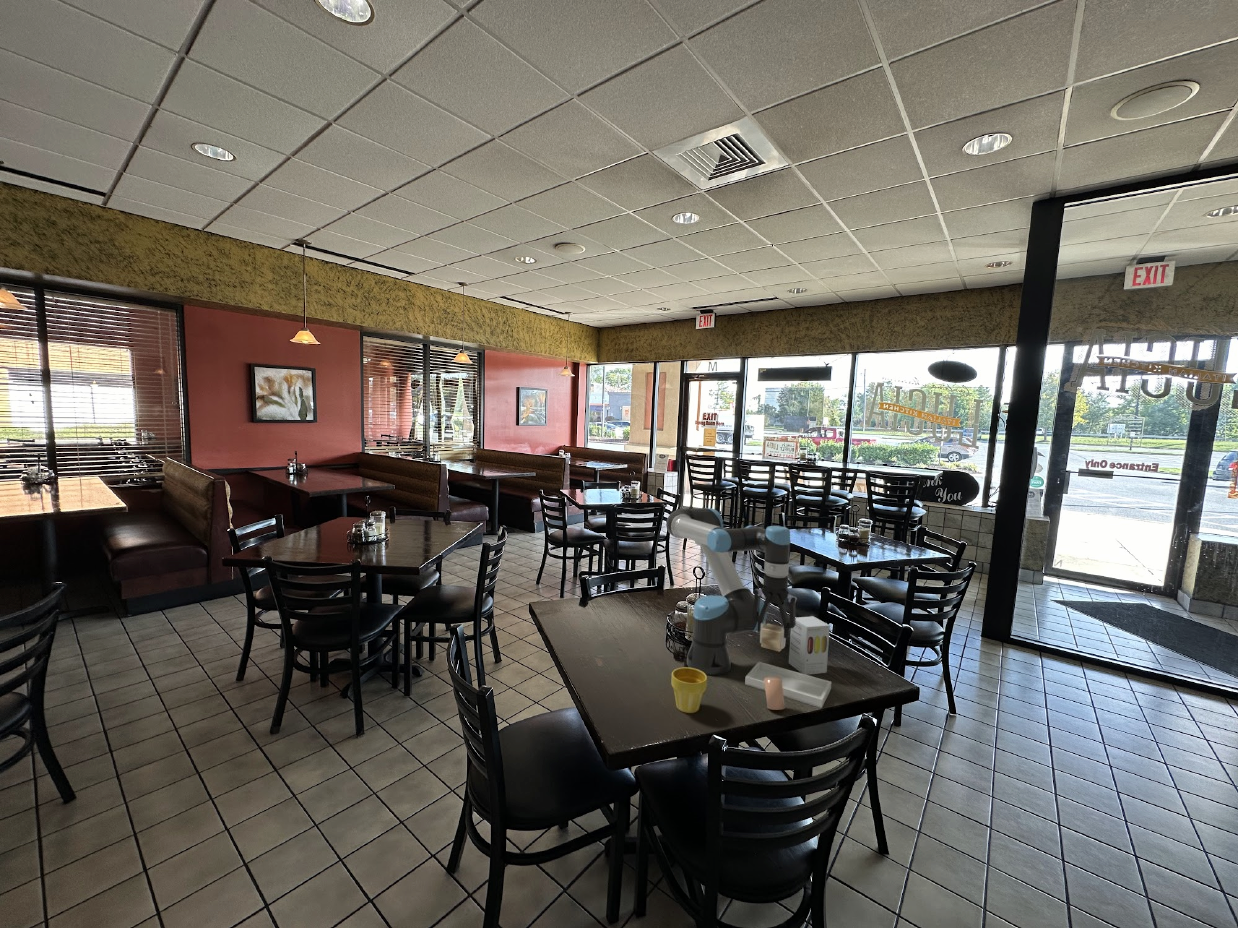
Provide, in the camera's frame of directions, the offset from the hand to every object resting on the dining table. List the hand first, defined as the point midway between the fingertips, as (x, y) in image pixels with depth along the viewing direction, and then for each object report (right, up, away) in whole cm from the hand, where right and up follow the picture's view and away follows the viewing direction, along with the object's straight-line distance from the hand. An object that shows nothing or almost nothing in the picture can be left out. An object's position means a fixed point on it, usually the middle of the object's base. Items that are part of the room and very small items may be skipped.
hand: (772, 644), depth 165 cm
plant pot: (-30, -13, -16) cm, 36 cm away
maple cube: (0, -1, +1) cm, 1 cm away
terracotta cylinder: (-4, -13, -16) cm, 21 cm away
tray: (+4, -13, -2) cm, 14 cm away
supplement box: (+16, -13, +12) cm, 24 cm away
